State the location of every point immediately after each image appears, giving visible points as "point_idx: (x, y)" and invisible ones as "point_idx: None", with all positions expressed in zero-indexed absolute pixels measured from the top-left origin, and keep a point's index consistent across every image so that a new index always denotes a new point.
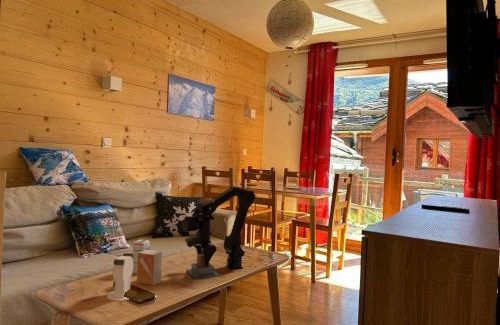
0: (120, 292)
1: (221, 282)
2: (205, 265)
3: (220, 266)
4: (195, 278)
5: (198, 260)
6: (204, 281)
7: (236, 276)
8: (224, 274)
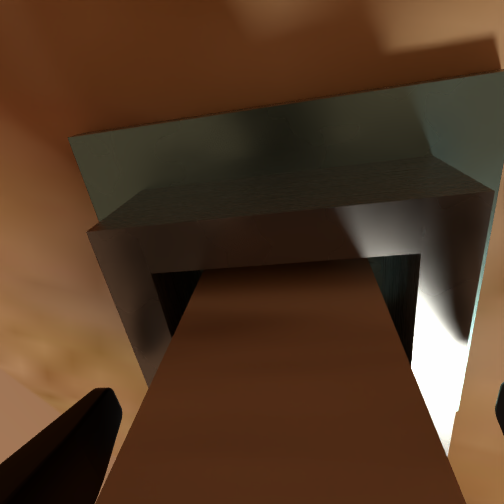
0: None
1: (13, 369)
2: (88, 395)
3: (478, 480)
4: (84, 157)
5: (275, 374)
6: (18, 242)
7: None
8: None
